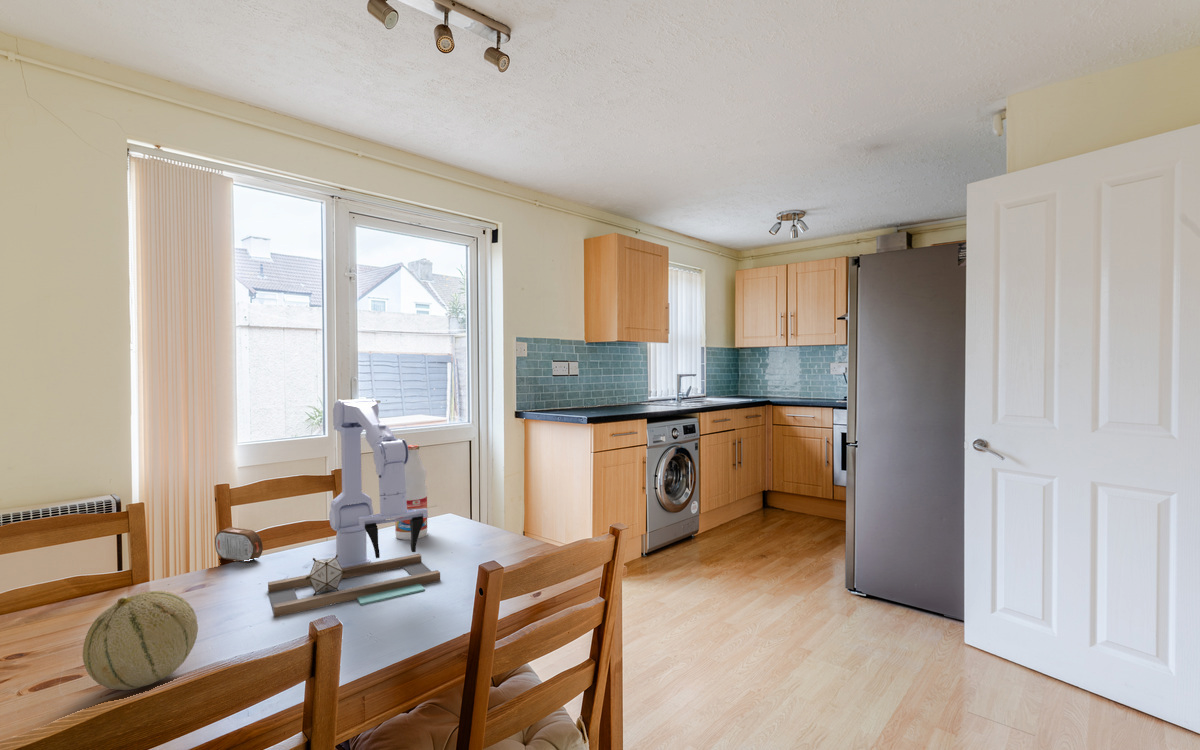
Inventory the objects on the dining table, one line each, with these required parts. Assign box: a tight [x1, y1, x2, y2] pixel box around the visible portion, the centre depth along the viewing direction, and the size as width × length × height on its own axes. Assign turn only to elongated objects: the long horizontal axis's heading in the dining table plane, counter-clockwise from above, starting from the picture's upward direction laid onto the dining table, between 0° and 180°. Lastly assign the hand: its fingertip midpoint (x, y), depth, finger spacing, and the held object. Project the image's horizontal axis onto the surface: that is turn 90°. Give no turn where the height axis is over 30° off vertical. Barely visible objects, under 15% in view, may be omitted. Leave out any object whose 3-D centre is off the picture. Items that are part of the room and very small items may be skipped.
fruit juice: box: [394, 444, 428, 541], centre depth 173 cm, size 9×9×28 cm
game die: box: [306, 554, 346, 596], centre depth 130 cm, size 9×8×10 cm
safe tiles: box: [356, 584, 426, 606], centre depth 137 cm, size 25×14×1 cm, turn 35°
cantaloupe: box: [82, 590, 199, 691], centre depth 92 cm, size 15×15×15 cm
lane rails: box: [267, 553, 441, 618], centre depth 133 cm, size 17×35×2 cm, turn 125°
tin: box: [214, 526, 264, 563], centre depth 152 cm, size 15×3×8 cm, turn 71°
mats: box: [268, 561, 432, 613], centre depth 133 cm, size 13×35×1 cm, turn 125°
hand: (395, 554), depth 127 cm, fingers open, 7 cm apart
